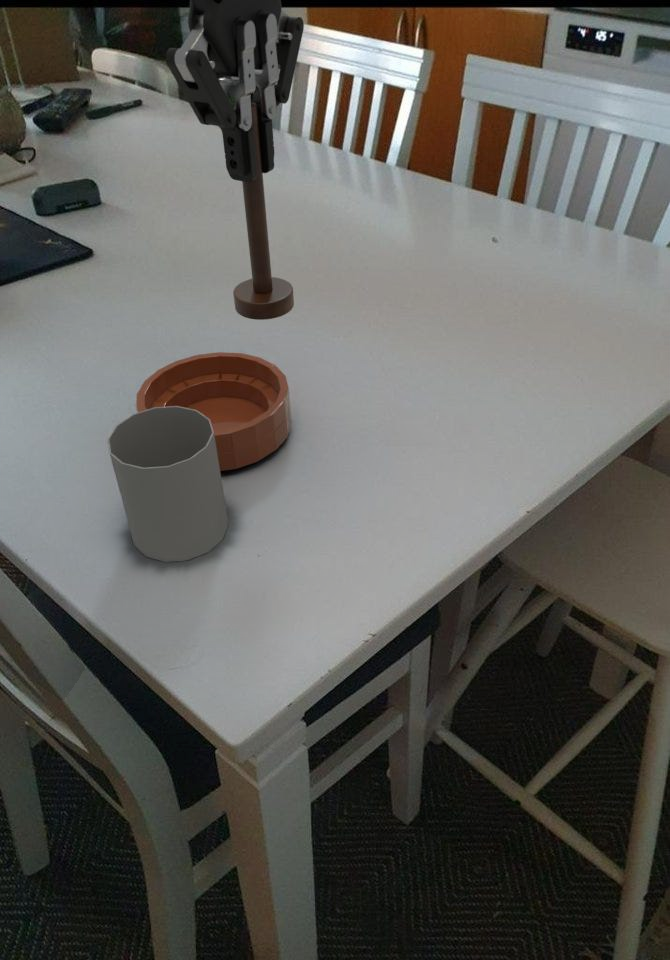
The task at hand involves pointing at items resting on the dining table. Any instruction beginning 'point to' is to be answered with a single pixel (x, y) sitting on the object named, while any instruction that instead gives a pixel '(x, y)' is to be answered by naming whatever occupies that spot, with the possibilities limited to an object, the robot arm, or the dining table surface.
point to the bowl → (227, 401)
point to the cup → (170, 482)
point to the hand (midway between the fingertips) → (251, 174)
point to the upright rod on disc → (260, 253)
